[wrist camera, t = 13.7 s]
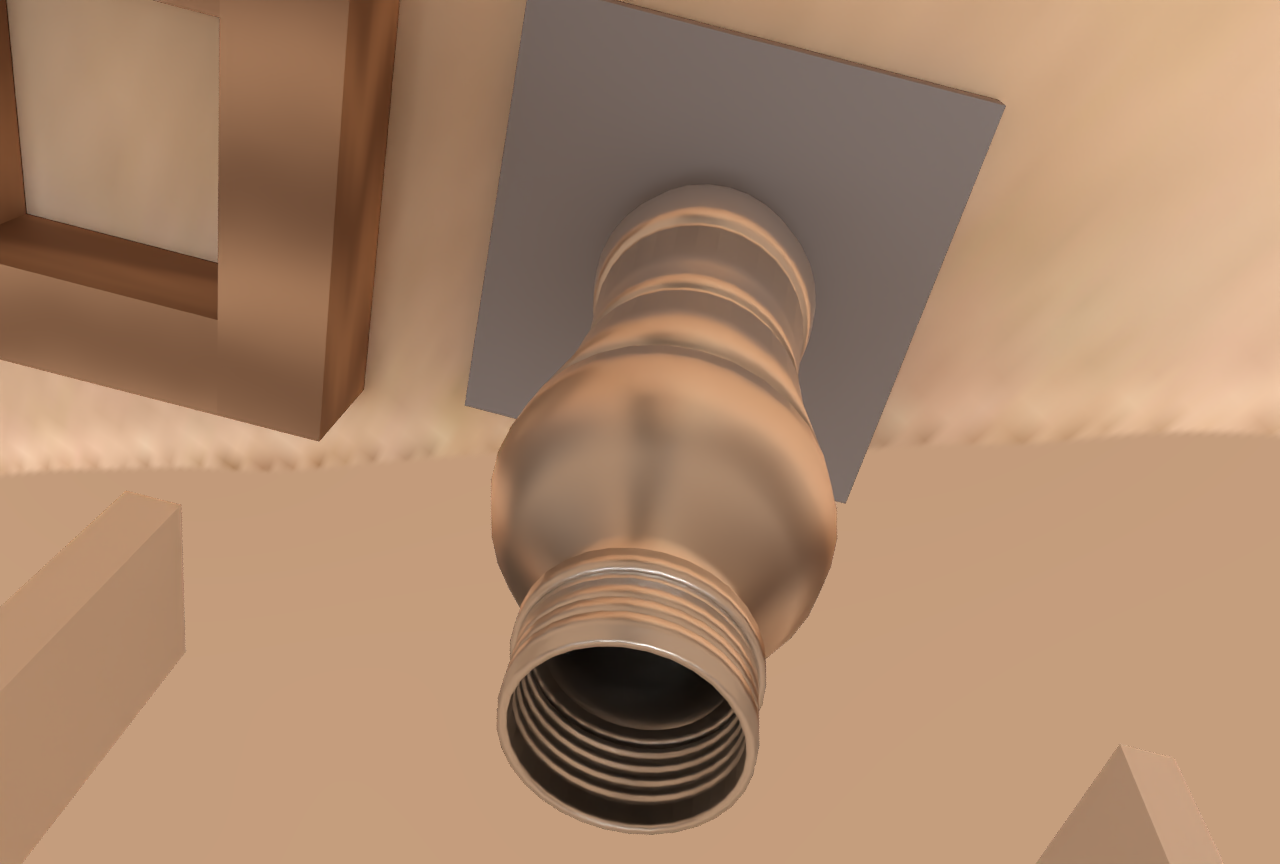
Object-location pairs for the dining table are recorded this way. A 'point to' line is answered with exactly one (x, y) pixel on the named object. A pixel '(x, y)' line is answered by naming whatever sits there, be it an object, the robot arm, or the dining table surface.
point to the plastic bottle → (663, 519)
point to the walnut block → (230, 234)
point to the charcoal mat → (730, 157)
